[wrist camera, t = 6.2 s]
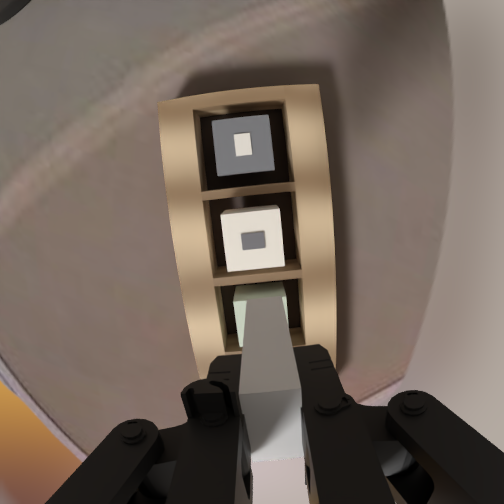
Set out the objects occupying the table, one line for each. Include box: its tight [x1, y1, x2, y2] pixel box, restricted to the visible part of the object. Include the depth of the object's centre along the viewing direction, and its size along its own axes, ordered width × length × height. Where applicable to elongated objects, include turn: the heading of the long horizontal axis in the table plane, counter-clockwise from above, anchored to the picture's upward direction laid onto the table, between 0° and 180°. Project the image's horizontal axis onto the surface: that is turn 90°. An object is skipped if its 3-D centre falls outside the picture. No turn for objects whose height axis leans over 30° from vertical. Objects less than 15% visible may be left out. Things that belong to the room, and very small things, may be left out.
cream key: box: [220, 205, 285, 272], centre depth 21 cm, size 4×4×3 cm
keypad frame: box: [157, 84, 336, 379], centre depth 23 cm, size 26×11×3 cm, turn 6°
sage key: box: [233, 282, 288, 347], centre depth 23 cm, size 4×4×3 cm
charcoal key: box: [212, 115, 275, 176], centre depth 20 cm, size 4×4×3 cm
